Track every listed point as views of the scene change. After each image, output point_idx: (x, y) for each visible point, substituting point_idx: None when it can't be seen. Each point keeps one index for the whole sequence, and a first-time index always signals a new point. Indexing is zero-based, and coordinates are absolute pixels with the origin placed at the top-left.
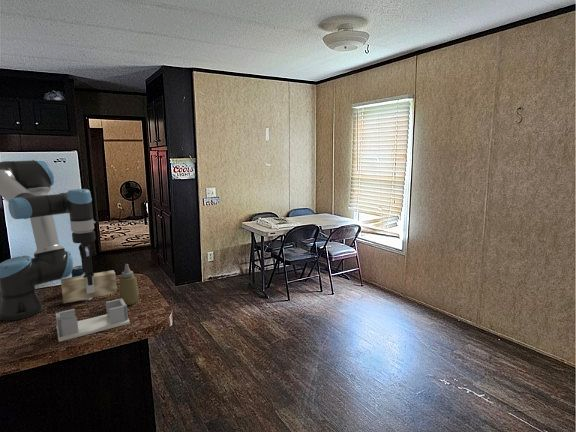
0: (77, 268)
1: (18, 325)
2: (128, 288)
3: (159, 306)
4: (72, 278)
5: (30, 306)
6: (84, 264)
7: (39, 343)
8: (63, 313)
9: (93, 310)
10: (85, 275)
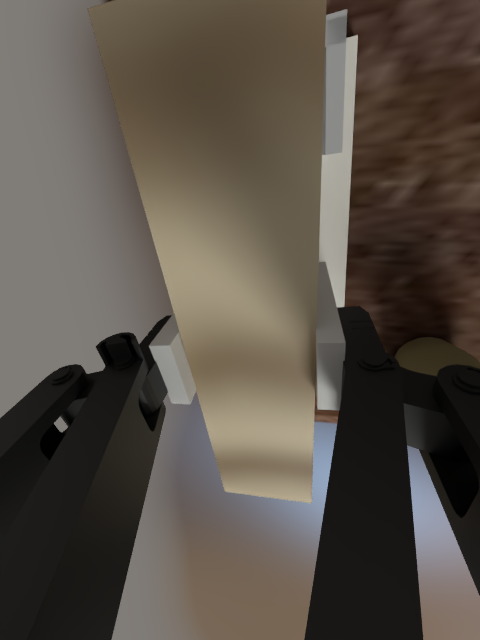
0: None
1: None
2: None
3: (318, 409)
4: (243, 200)
5: None
6: (14, 522)
7: None
8: (325, 79)
9: (465, 226)
10: (113, 366)
